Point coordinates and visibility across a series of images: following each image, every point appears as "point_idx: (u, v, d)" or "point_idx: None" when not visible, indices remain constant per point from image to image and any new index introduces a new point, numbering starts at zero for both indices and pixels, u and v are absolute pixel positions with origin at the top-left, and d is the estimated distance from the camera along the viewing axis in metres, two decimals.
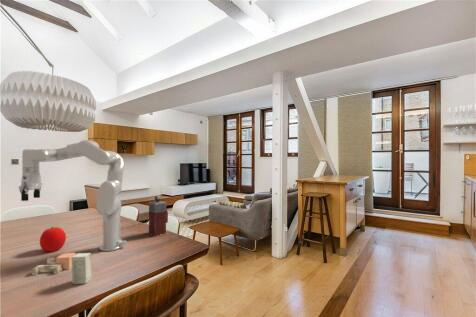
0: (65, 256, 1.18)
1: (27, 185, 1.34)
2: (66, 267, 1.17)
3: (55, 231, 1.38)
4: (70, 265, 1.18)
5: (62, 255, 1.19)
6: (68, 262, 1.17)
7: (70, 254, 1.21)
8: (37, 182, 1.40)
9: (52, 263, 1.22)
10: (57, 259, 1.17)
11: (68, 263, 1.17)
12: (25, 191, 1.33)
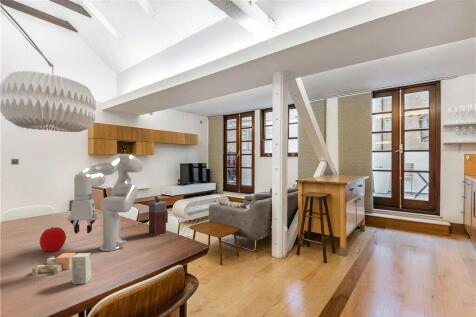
0: (65, 256, 1.18)
1: (95, 212, 1.23)
2: (66, 267, 1.17)
3: (55, 231, 1.38)
4: (70, 265, 1.18)
5: (62, 255, 1.19)
6: (68, 262, 1.17)
7: (70, 254, 1.21)
8: None
9: (52, 263, 1.22)
10: (57, 259, 1.17)
11: (68, 263, 1.17)
12: None
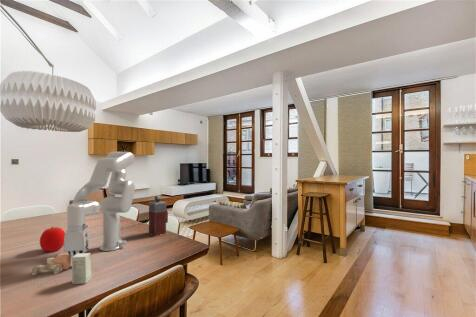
0: (63, 256, 1.18)
1: (88, 242, 1.23)
2: (64, 267, 1.17)
3: (55, 231, 1.38)
4: (68, 265, 1.18)
5: (60, 255, 1.19)
6: (66, 262, 1.17)
7: (68, 254, 1.21)
8: None
9: (52, 263, 1.22)
10: (55, 259, 1.16)
11: (66, 263, 1.17)
12: (80, 252, 1.21)
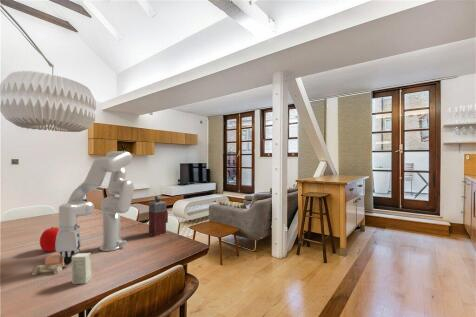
0: (54, 257, 1.18)
1: (80, 243, 1.22)
2: None
3: (55, 231, 1.38)
4: None
5: (52, 256, 1.19)
6: (57, 263, 1.17)
7: (60, 254, 1.20)
8: None
9: None
10: (46, 260, 1.16)
11: None
12: None
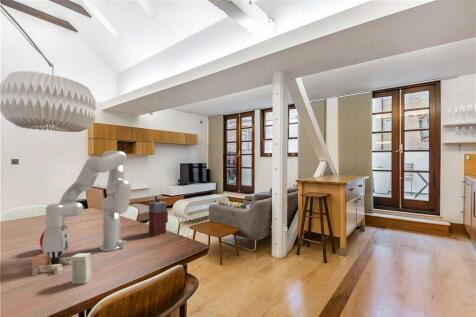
0: (41, 257, 1.17)
1: (67, 243, 1.21)
2: None
3: None
4: None
5: (39, 256, 1.18)
6: (44, 263, 1.16)
7: (47, 255, 1.19)
8: None
9: None
10: (33, 260, 1.15)
11: (44, 264, 1.16)
12: None
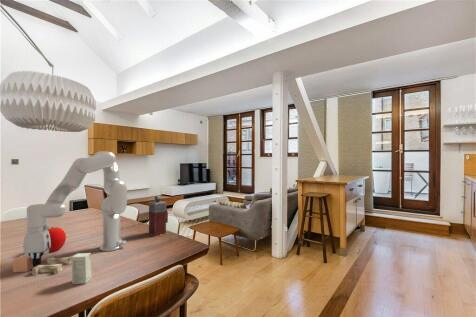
0: (22, 258, 1.15)
1: (49, 244, 1.20)
2: (23, 269, 1.14)
3: (55, 231, 1.38)
4: (28, 267, 1.16)
5: (20, 257, 1.17)
6: (25, 264, 1.15)
7: (29, 256, 1.18)
8: None
9: (52, 263, 1.22)
10: (14, 261, 1.14)
11: (25, 265, 1.15)
12: None
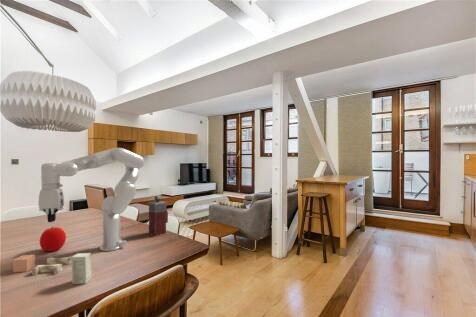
0: (22, 258, 1.15)
1: (63, 201, 1.25)
2: (23, 269, 1.15)
3: (55, 231, 1.38)
4: (28, 267, 1.16)
5: (20, 257, 1.17)
6: (26, 264, 1.15)
7: (29, 256, 1.18)
8: None
9: (52, 263, 1.22)
10: (14, 261, 1.14)
11: (26, 265, 1.15)
12: None
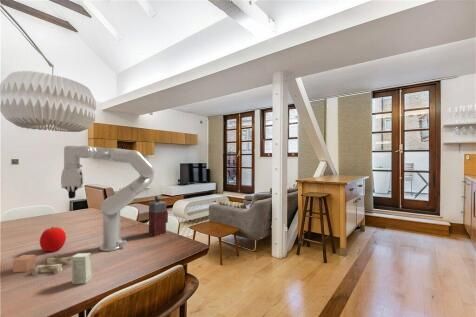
0: (22, 258, 1.15)
1: (82, 180, 1.39)
2: (23, 269, 1.15)
3: (55, 231, 1.38)
4: (28, 267, 1.16)
5: (20, 257, 1.17)
6: (26, 264, 1.15)
7: (29, 256, 1.18)
8: None
9: (52, 263, 1.22)
10: (14, 261, 1.14)
11: (26, 265, 1.15)
12: None
